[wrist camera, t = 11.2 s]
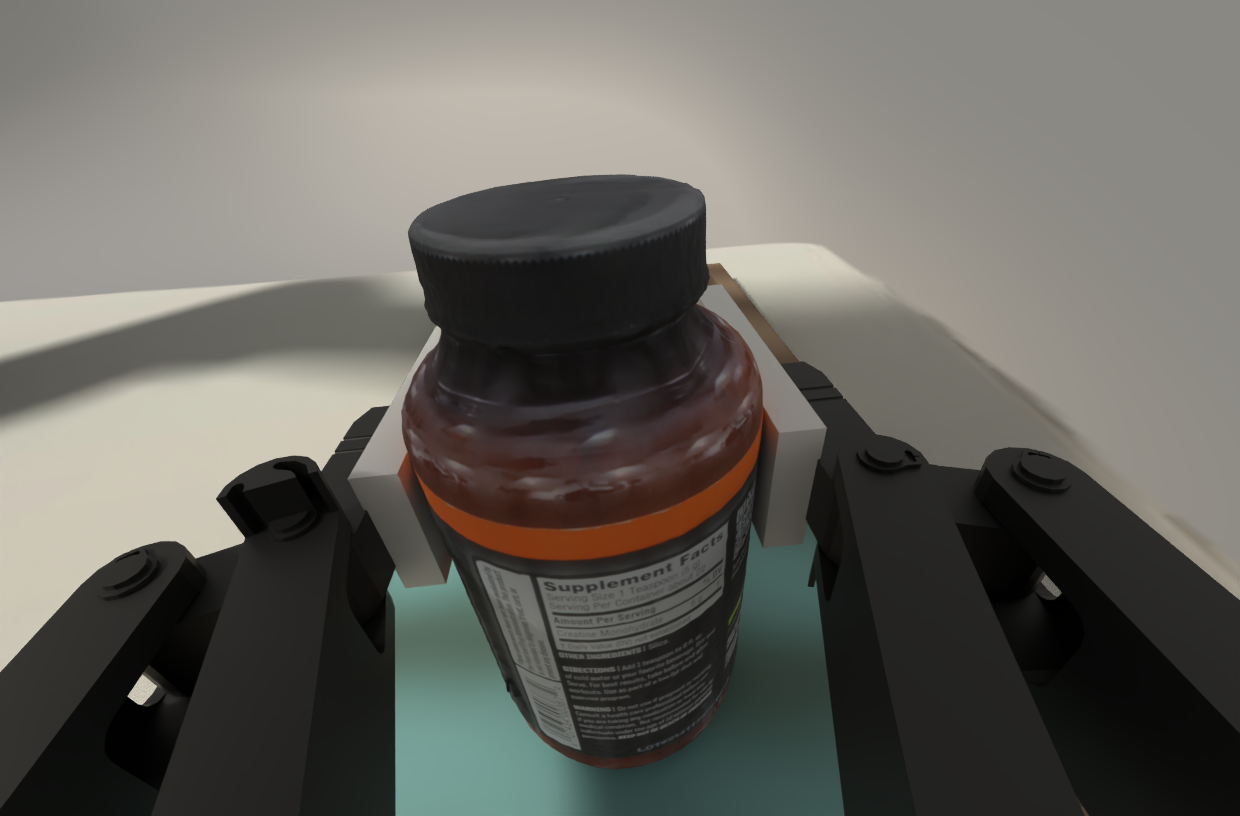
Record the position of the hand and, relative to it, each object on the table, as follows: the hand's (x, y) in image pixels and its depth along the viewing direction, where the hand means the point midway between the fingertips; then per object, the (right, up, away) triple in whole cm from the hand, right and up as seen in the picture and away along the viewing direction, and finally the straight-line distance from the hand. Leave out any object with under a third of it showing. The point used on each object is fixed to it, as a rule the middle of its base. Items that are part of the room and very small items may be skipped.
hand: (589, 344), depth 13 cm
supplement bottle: (+1, -8, 0) cm, 8 cm away
